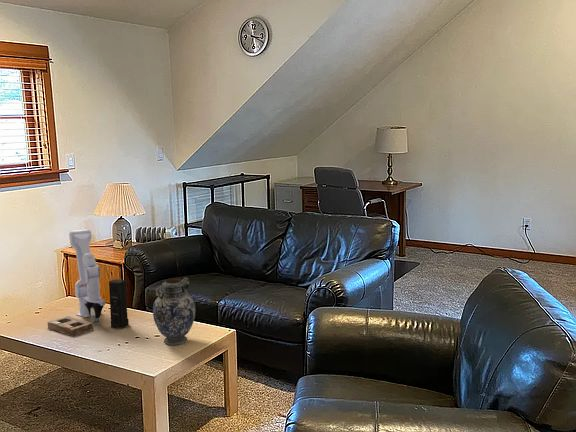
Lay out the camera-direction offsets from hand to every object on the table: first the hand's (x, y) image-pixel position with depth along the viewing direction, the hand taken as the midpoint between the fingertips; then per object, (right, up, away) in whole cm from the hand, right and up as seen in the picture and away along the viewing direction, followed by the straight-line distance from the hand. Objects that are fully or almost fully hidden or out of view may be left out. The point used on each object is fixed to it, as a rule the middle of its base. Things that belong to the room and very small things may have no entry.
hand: (95, 317), depth 280 cm
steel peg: (0, -3, 0) cm, 3 cm away
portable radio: (+13, -4, -5) cm, 15 cm away
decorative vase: (+45, -6, -26) cm, 52 cm away
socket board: (-9, -4, -8) cm, 13 cm away
